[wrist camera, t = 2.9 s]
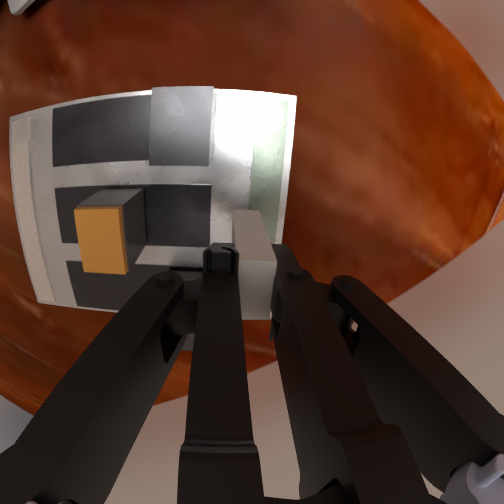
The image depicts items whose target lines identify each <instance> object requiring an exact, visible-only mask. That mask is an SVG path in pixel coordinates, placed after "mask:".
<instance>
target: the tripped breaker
mask: <svg viewBox="0 0 504 504" xmlns="http://www.w3.org/2000/svg"><path fill="white" fill-rule="evenodd" d="M76 207H77V208H76V209H74V215H75V223H76V230H77V236H78V243H79V248H80V254H81V259H82V264H83V269H84V272H91V273H107V274H124V275H126V273H127V272H130V271H131V269H132V268H133V266H134V264H135V263H136V261H137V259H138V258H139V256H140V254H141V253H142V251H143V249H144V248H145V246H146V244H147V243H146V229H145V212H144V188H116V189H102V190H101V191H99V192H97V193H96V194H94V195H92V196H91V197H89V198H87V199H86V200H84V201H83V202H81V203H79V204H78V205H76Z"/></svg>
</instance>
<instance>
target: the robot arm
mask: <svg viewBox="0 0 504 504" xmlns="http://www.w3.org/2000/svg"><path fill="white" fill-rule="evenodd" d="M270 312H271V313H272V322H271V329H270V335H269V341H272V337H273V340H274V345H275V350H276V355H277V360H278V365H279V369H280V374H281V379H282V384H283V389H284V394H285V399H286V404H287V409H288V414H289V419H290V424H291V429H292V434H293V439H294V444H295V449H296V454H297V459H298V464H299V469H300V483H299V495H300V500H291V499H281V498H272V497H264V492H263V484H262V476H261V467H260V460H259V453H258V449H257V446H256V445H255V444H254V439H253V432H252V422H251V412H250V402H249V392H248V381H247V370H246V360H245V349H244V337H243V326H242V320H269V319H270ZM353 321H355V322H356V323H357V324H358V327H357V330H356V332H355V331H354V330H353V329H352V328H351V327H352V324H353ZM191 333H195V335H194V344H193V353H192V362H191V372H190V382H189V392H188V404H187V417H186V430H185V440H184V443H183V444H182V445H181V449H180V456H179V470H178V491H177V492H178V493H177V504H504V416H503V415H502V414H500V413H498V411H497V410H496V409H495V408H494V407H493V406H492V405H491V404H490V403H489V402H488V401H487V400H486V399H485V398H484V397H483V396H482V394H481V393H479V391H478V390H477V389H475V387H474V386H473V385H472V384H471V383H470V382H469V381H468V380H467V379H466V378H465V377H464V376H463V375H462V374H461V373H460V372H459V371H458V370H457V369H456V368H455V367H454V366H453V365H452V364H451V363H450V362H448V360H447V359H446V358H444V357H443V356H442V355H441V354H440V353H439V352H438V351H437V350H436V349H435V348H434V347H433V346H432V345H431V344H430V343H429V342H428V341H427V340H425V339H424V338H423V337H422V336H421V335H420V334H419V333H418V332H417V331H416V330H415V329H414V328H413V327H412V326H410V325H409V324H408V323H407V322H406V321H405V320H404V319H403V318H401V317H400V316H399V315H398V314H397V313H396V312H395V311H394V310H393V309H392V308H390V307H389V306H388V305H387V304H386V303H385V302H384V301H383V300H381V299H380V298H379V297H378V296H377V295H376V294H375V293H373V292H372V291H371V290H370V289H369V288H368V287H366V286H365V285H364V284H363V283H362V282H361V281H359V280H357V279H356V278H353V277H352V276H347V275H341V276H336V277H334V278H333V279H332V282H331V285H328V284H323V283H318V282H315V280H314V278H313V277H312V275H311V274H310V272H309V271H307V270H305V269H303V268H300V266H299V264H298V262H297V260H296V259H295V256H294V255H293V252H292V250H291V248H289V247H288V246H287V245H285V244H271V242H270V240H269V237H268V234H267V231H266V228H265V226H264V223H263V220H262V217H261V214H260V212H259V210H241V209H233V224H232V243H217V242H213V243H212V244H211V245H210V246H209V247H208V248H206V249H205V250H204V251H203V275H202V276H201V277H200V278H198V279H195V280H191V281H186V282H183V278H182V276H180V275H179V274H177V273H173V272H159V273H157V274H154V275H152V276H151V277H149V278H148V280H147V281H146V282H145V283H144V284H143V285H142V286H141V287H140V288H139V289H138V290H137V291H136V293H135V294H134V295H133V296H132V297H131V298H130V299H129V300H128V301H127V302H126V304H125V305H124V306H123V307H122V308H121V309H120V310H119V311H118V313H117V314H116V315H115V316H114V317H113V318H112V319H111V320H110V322H109V323H108V324H107V325H106V326H105V327H104V329H103V330H102V331H101V332H100V333H99V334H98V336H97V337H96V338H95V339H94V340H93V341H92V343H91V344H90V345H89V346H88V347H87V349H86V350H85V351H84V352H83V353H82V355H81V356H80V357H79V358H78V359H77V361H76V362H75V363H74V364H73V366H72V367H71V368H70V369H69V371H68V372H67V373H66V374H65V376H64V377H63V378H62V379H61V381H60V382H59V383H58V385H57V386H56V387H55V388H54V390H53V391H52V392H51V394H50V395H49V396H48V398H47V399H46V400H45V402H44V403H43V404H42V406H41V407H40V408H39V410H38V411H37V412H36V414H35V415H34V417H33V418H32V419H31V421H30V422H29V424H28V425H27V427H26V428H25V429H24V431H23V432H22V434H21V435H20V436H19V438H18V439H17V441H16V442H15V444H14V445H12V446H11V447H9V448H8V449H6V450H5V451H4V452H2V453H1V454H0V504H104V503H105V501H106V499H107V497H108V495H109V494H110V492H111V489H112V487H113V485H114V483H115V481H116V479H117V477H118V475H119V473H120V471H121V469H122V467H123V465H124V462H125V460H126V458H127V456H128V454H129V452H130V450H131V448H132V446H133V443H134V442H135V440H136V438H137V436H138V434H139V432H140V429H141V428H142V426H143V424H144V422H145V420H146V418H147V415H148V413H149V411H150V410H151V408H152V406H153V404H154V402H155V400H156V398H157V396H158V394H159V392H160V390H161V388H162V386H163V384H164V382H165V380H166V378H167V376H168V374H169V372H170V370H171V368H172V366H173V364H174V362H175V361H176V359H177V357H178V355H179V353H180V351H181V349H182V347H183V345H184V343H185V341H186V339H187V334H191ZM420 472H421V473H422V475H423V476H424V477H425V478H426V479H427V480H428V481H429V482H430V483H431V484H432V485H433V486H435V487H436V488H437V489H439V490H440V491H442V492H443V494H442V495H441V497H440V499H438V498H436V497H434V496H432V495H430V494H429V493H428V490H427V488H426V485H425V483H424V480H423V478H422V475H421V473H420Z"/></svg>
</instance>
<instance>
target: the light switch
mask: <svg viewBox="0 0 504 504" xmlns="http://www.w3.org/2000/svg"><path fill="white" fill-rule="evenodd" d="M34 1H35V0H8V4H9V8H10V12H11V13H12V14H14V15H19V14H21V13H22V12H23V11H24V10H25V9H26V8H27V7H29V6H30V5H31V4H32V3H33V2H34Z"/></svg>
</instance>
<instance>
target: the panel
mask: <svg viewBox="0 0 504 504" xmlns="http://www.w3.org/2000/svg"><path fill="white" fill-rule="evenodd" d="M296 101H297V96H293V95H286V94H278V93H269V92H259V91H246V90H229V89H214V86H178V87H156V88H152V90H148V91H136V92H126V93H118V94H110V95H103V96H96V97H90V98H84V99H79V100H74V101H69V102H64V103H60V104H55V105H51V106H47V107H43V108H39V109H36V110H32V111H28V112H25V113H22V114H18V115H15V116H12V117H10V134H9V137H10V166H11V179H12V189H13V197H14V205H15V211H16V218H17V223H18V229H19V234H20V239H21V243H22V248H23V252H24V256H25V260H26V264H27V268H28V271H29V275H30V278H31V282H32V285H33V288H34V291H35V294H36V297H37V300H38V303H44V304H51V305H58V306H65V307H72V308H80V309H89V310H98V311H107V312H117V313H118V311H119V310H120V309H121V308H122V307H123V306H124V305H125V304H126V302H127V301H128V300H129V299H130V298H131V297H132V296H133V295H134V294H135V293H136V291H137V290H138V289H139V288H140V287H141V286H142V285H143V284H144V283H145V282H146V281H147V280H148V278H149V277H151V276H152V275H154V274H157V273H159V272H173V273H177V274H179V275H180V276H182V278H183V282H186V281H191V280H195V279H198V278H200V277H201V276H202V275H203V251H204V250H205V249H206V248H208V247H209V246H210V245H211V244H212V243H213V242H217V243H232V224H233V209H241V210H259V212H260V214H261V217H262V220H263V223H264V226H265V228H266V231H267V234H268V237H269V240H270V242H271V244H281V242H282V234H283V226H284V218H285V209H286V201H287V192H288V183H289V174H290V164H291V154H292V144H293V134H294V123H295V112H296ZM116 188H144V212H145V229H146V243H147V244H146V246H145V248H144V249H143V251H142V253H141V254H140V256H139V258H138V259H137V261H136V263H135V264H134V266H133V268H132V269H131V271H130V272H127V273H126V275H124V274H107V273H91V272H84V269H83V264H82V259H81V254H80V248H79V243H78V236H77V230H76V223H75V215H74V209H76V208H77V207H76V205H78V204H79V203H81V202H83V201H84V200H86V199H87V198H89V197H91V196H92V195H94V194H96V193H97V192H99V191H101V190H102V189H116ZM271 316H272V313H271V312H270V319H271ZM194 335H195V333H191V334H187V339H186V341H185V343H184V345H183V347H182V349H181V350H191V351H193V344H194Z"/></svg>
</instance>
